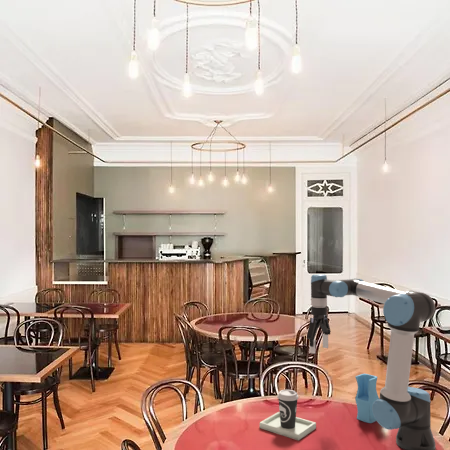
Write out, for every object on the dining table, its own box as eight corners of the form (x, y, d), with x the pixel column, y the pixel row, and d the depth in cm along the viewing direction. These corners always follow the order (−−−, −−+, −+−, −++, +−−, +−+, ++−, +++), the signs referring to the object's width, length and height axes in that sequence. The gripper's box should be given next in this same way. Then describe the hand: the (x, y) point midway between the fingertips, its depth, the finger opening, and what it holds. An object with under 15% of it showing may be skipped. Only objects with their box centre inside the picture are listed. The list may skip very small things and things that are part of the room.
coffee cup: (298, 431, 198) (298, 396, 199) (276, 429, 200) (276, 395, 201) (299, 422, 208) (298, 389, 208) (278, 420, 209) (278, 388, 210)
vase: (355, 418, 215) (355, 376, 215) (364, 414, 220) (364, 373, 221) (370, 423, 209) (370, 380, 209) (379, 419, 214) (378, 376, 215)
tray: (316, 428, 204) (316, 422, 204) (298, 440, 191) (298, 434, 191) (278, 417, 216) (278, 411, 216) (259, 428, 204) (259, 422, 204)
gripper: (323, 302, 231) (323, 344, 230) (299, 308, 211) (299, 354, 211) (337, 304, 226) (337, 346, 225) (313, 310, 206) (313, 356, 206)
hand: (319, 350), depth 218 cm, fingers open, 13 cm apart
